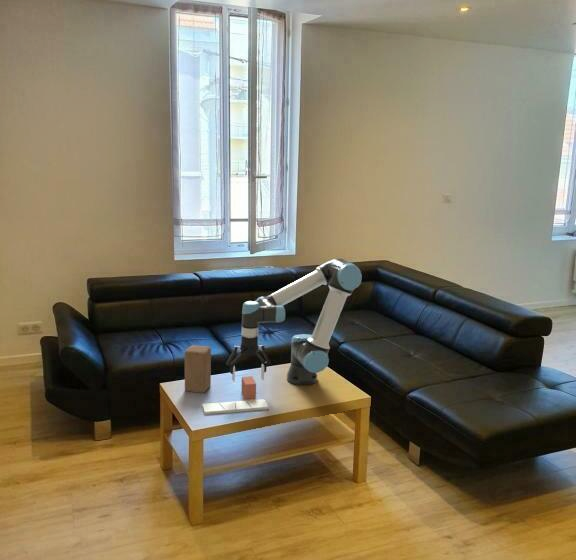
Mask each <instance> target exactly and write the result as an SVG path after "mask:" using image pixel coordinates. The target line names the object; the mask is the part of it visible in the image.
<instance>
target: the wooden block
mask: <svg viewBox="0 0 576 560" xmlns="http://www.w3.org/2000/svg"><path fill="white" fill-rule="evenodd" d="M211 349H212V348H211V347H210V346H205V345H204V346H203V345H195V344H191V345H190V346H189V347H187V348H186V350H185V351H184V391H186V392H192V393H193V392H194V393H202V394H203V393H205V392H206V391H207V390H208V388H210V386H211V385H212V381H211V379H212V374H211V373H212V369H211V367H212V361H211V360H212V358H211V357H212V350H211Z"/></svg>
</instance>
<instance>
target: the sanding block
mask: <svg viewBox="0 0 576 560" xmlns="http://www.w3.org/2000/svg"><path fill="white" fill-rule="evenodd" d="M241 394H242V395H241V396H242V398H243V401H248V400H257V383H256V381H255V379H254V377H253V376H241Z"/></svg>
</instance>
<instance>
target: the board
mask: <svg viewBox="0 0 576 560" xmlns="http://www.w3.org/2000/svg"><path fill="white" fill-rule="evenodd" d="M202 409H203V413H204V415H216V414H226V413H227V414H229V413H238V412H251V411H253V412H254V411H263V410H269V405H268V403H267V401H266V400H265V399H264V398H263V399H256V400H248V401H245V400H240V401H239V400H238V401H237V400H235V401H226V402H225V401H224V402H211V403H210V402H209V403H202Z"/></svg>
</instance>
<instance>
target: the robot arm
mask: <svg viewBox="0 0 576 560" xmlns="http://www.w3.org/2000/svg"><path fill="white" fill-rule="evenodd" d="M362 278H363V276H362V271H361V270H360V268H359V267H358V266H357V265H355V264H354V263H352V262H349V261H348V260H346V259H343V258H333V259H331V260H328V261H326V262H325V263H322V264H320V265H318V266H317V267H316V268H315V269H314V271H312V272H310V273H308V274H306V275H305V276H303V277H301V278H299V279H297V280H295V281H294V282H291V283H290V284H287V285H286V286H284V287H282V288H279V289H278V290H277V291H275V292H273V293H271V294H268V295H267V296H260V297H259V296H258V298H257V299H255V300H254V301H252V300H248V301H245V302H244V303H243V304H242V311H241V337H240V345H236V344H235V345H233V350H232V352H231V354H230V356H229V357H228V359H227V361H226V366H227V367H229V373H230V374H231V380H232V382H235V379H236V367H235V366H236V365H237V363H239V361H240V360H241V359H242V358H243V357H245V356H254V355H255V357H256V358H257V359H258V360H259V361H260V362H261V369H260V370H261V371H260V373H261V374H260V379H261V380H263V381H264V380H265V373H266V372H267V368H268V366H269V365H271V361H270V358H269V356H268V354H267V352H266V350H265V345H264V344H260V345H258V344H259V343H258V342H259V324H261V323H267V324H268V323H282V322H284V321H285V319H286V309H285V307H284V306H285V305H287V304H288V303H291V302H293V301H295V300H296V299H297V298H300V297H302V296H304V295H306V294H307V293H309V292H311V291H313V290H315V289H317V288H318V287H321V286H322V285H324V286H328V288H329V291H328V294H327V297H326V298H325V302H324V304H323V306H322V310H321V311H320V313H319V314H320V315H319V317H318V318H317V321H316V324H315V327H314V329H313V331H312V334H309V333H308V334H306V333H302V334H301V333H300V334H294V335H293V336H292V337H291V342H290V343H291V352H290V366H289V368H288V371H287V373H286V380H287V382H288V383H291V384H293V385H298V386H309V385H313V384H315V383H317V381H318V373H321V372H323V371H324V370H325V369H326V368H327V367H328V365H329V361H330V358H329V355H328V354H329V352H330V349H331V347H330V344H329V343H330V340H331V338H332V335H333V333H334V331H335V328H336V326H337V322H338V320H339V318H340V315H341V312H342V310H343V309H344V305H345V303H346V301H347V298H348V297H349V296H351V295H352V294H353V292H354V290H355V289H356V288H358V287H360V285H361V283H362ZM239 350H240V351H239ZM258 350H260V351H261V352H262V354H263V357H264V358H265V360H264V358H262V356H261V355H260V354H259V353H258ZM238 352H239V354H237V353H238ZM236 355H237V356H236ZM235 356H236V357H235Z"/></svg>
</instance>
